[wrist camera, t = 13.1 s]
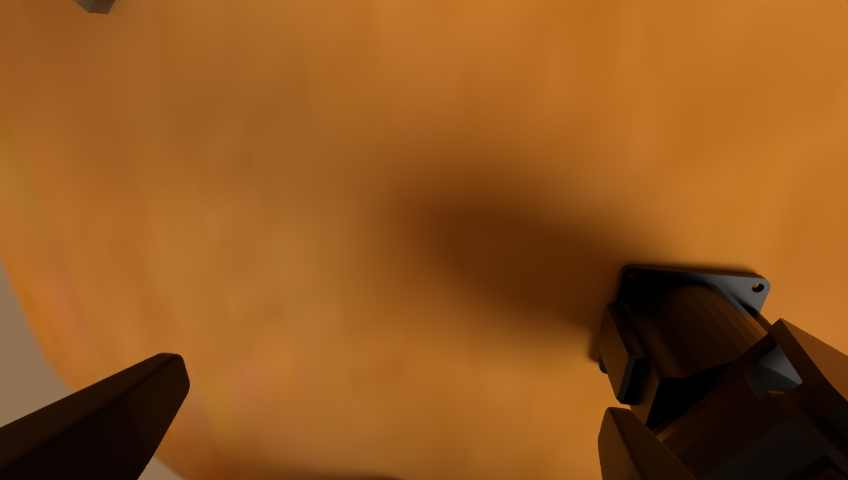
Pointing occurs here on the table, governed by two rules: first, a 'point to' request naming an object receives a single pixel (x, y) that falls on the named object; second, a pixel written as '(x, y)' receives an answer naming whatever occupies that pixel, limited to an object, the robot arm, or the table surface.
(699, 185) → the table surface
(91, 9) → the board
